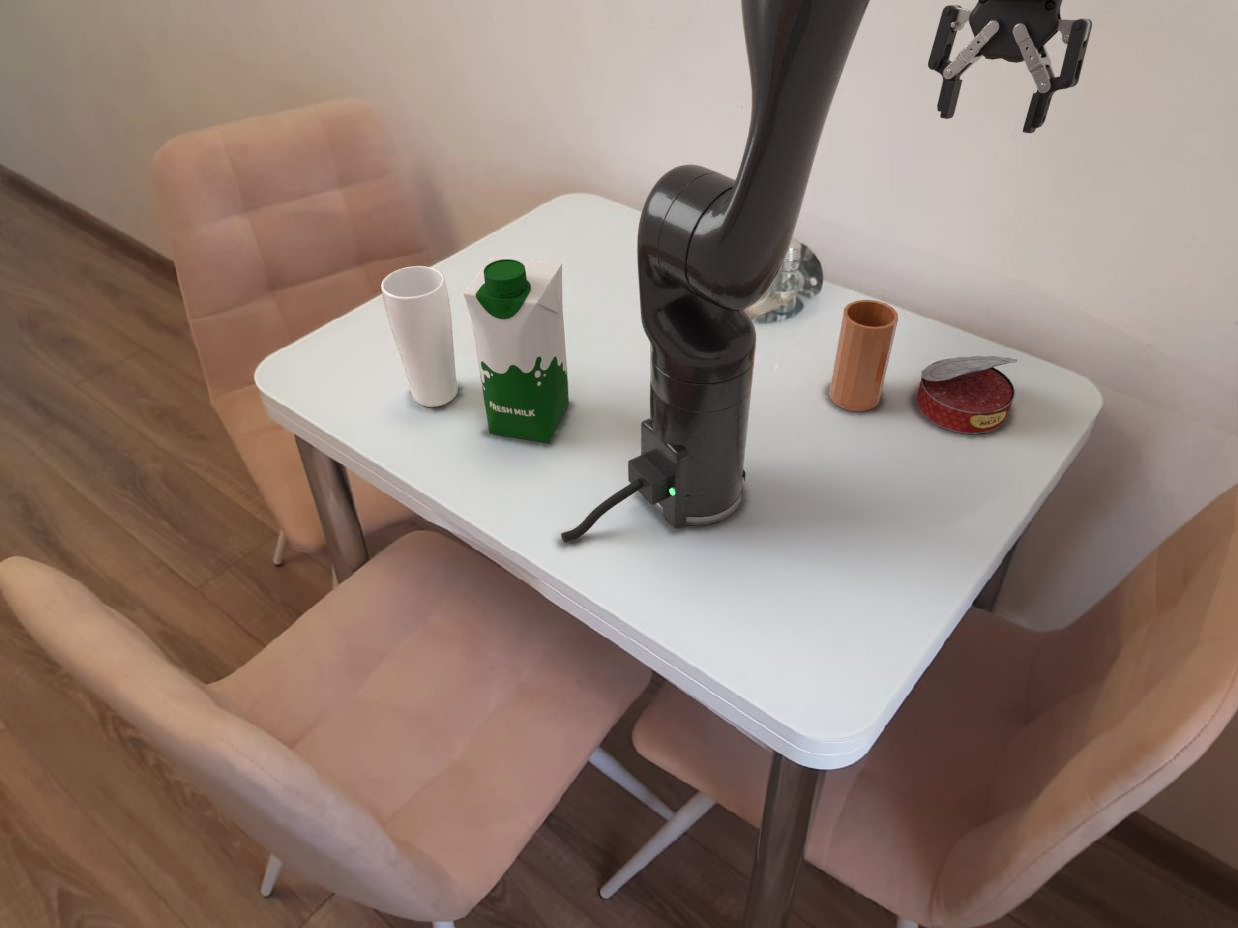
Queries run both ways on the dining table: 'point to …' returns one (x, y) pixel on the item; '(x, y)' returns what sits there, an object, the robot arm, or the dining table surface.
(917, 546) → the dining table surface
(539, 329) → the milk carton
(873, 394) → the tumbler
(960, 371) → the canned food
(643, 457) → the robot arm
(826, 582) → the dining table surface
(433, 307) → the drinking glass
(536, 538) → the dining table surface
